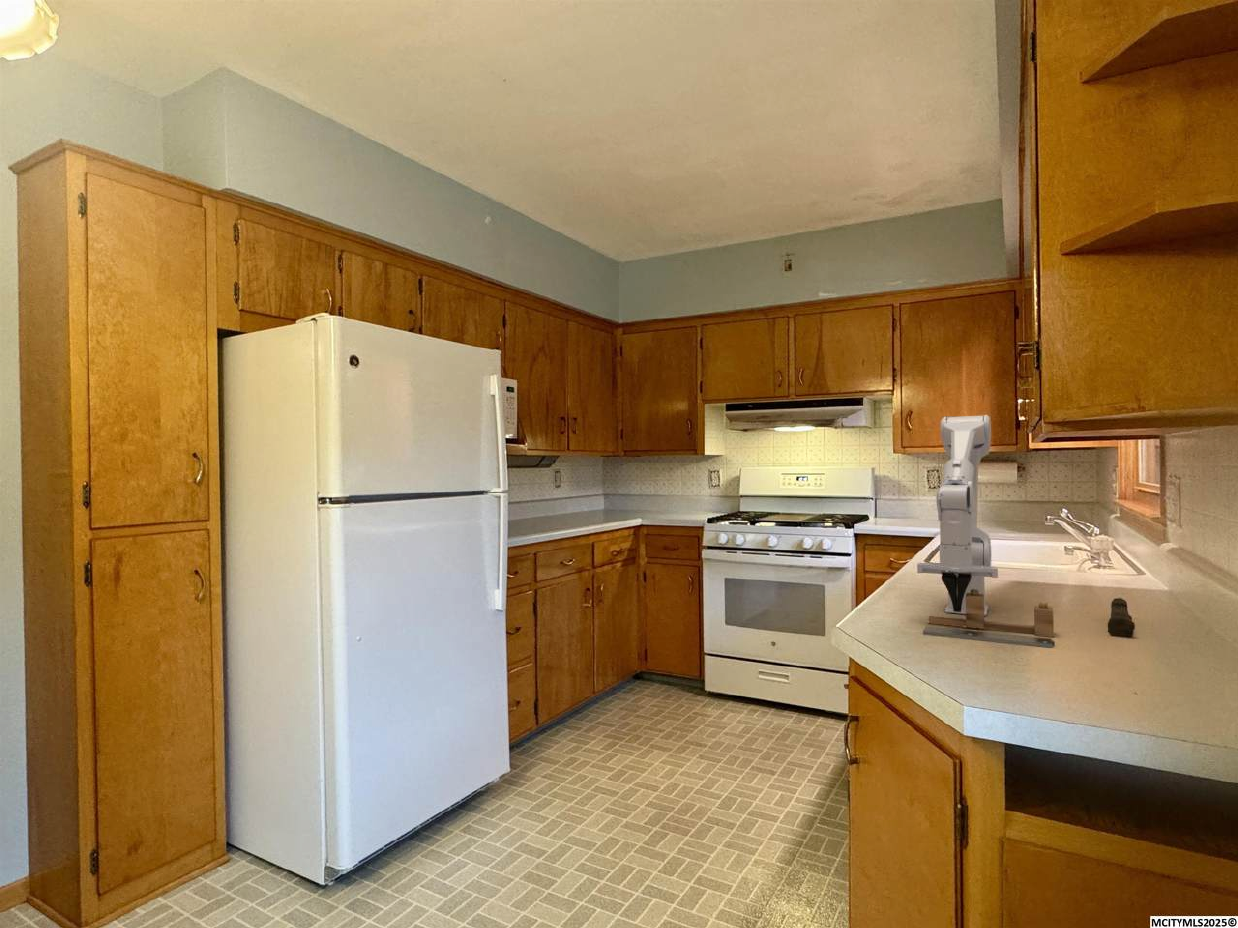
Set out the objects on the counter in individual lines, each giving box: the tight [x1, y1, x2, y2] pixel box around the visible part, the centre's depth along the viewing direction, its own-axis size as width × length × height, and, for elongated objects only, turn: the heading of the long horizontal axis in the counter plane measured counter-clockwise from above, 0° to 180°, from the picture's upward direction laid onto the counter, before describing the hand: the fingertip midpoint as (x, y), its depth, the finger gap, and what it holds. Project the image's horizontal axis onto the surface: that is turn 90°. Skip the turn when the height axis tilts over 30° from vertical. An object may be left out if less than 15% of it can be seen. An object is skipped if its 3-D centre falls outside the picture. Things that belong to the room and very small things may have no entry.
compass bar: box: [927, 601, 1055, 638], centre depth 131 cm, size 4×22×6 cm, turn 59°
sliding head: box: [965, 589, 985, 630], centre depth 132 cm, size 4×3×7 cm
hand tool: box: [1107, 597, 1136, 639], centre depth 131 cm, size 19×4×5 cm, turn 141°
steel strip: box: [922, 625, 1056, 649], centre depth 124 cm, size 4×21×1 cm, turn 59°
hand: (957, 610), depth 134 cm, fingers closed
